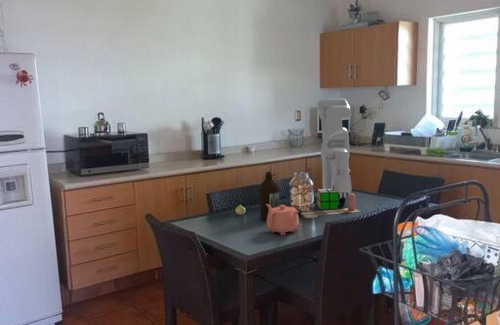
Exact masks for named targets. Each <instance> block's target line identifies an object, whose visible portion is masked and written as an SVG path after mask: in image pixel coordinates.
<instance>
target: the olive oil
mask: <svg viewBox="0 0 500 325" xmlns="http://www.w3.org/2000/svg"><path fill="white" fill-rule="evenodd" d="M264 175H265V178H264V180H263V181H262V182H261V184H260V185H259V188H258V197H259V198H258V199H259V208H260V220H261V221H263V222H267V216H268V212H269V208H268V206H267V205H266V204H269V205H271V207H272V208H276V207H279V206H280V193H281V192H280V191H281V190H280V186H279V184H278V183H277V182H276V181H275V180H274V179H273V173H272V170H271V171H270V170H268V171H267V170H266V171H265V173H264Z"/></svg>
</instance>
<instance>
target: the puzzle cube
mask: <svg viewBox="0 0 500 325" xmlns="http://www.w3.org/2000/svg"><path fill="white" fill-rule="evenodd" d="M316 192H317V193H316V194H317V196H316V198H317V200H316V201H317V202H316V203H317V207H319V209H320V210H335V209H340V208H339V207H340V206H339V205H340V203H339V197H338V192H337V191H335V190H334V189H333V190H332V189H323V188H321V189H320V188H318V189H317V190H316Z"/></svg>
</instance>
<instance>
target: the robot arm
mask: <svg viewBox="0 0 500 325" xmlns="http://www.w3.org/2000/svg"><path fill="white" fill-rule="evenodd" d="M316 108H317V113H318V116H319V119H320V122H321V137H322V144H321V145H322V146H321V149H320V157H321V165H322V189H332V190H333V189H334V190H335V191H337V192H338V201H339V205H340V206H345V205H346V204H345V203H346V198H347V197H348V195H349V194H351V193H352V178H351V175H350V172H352V170H351V169H350V168H349V167H350V165H349V164H350V163H349V158H350V140H349V139H350V137H349V132H348V131H349V130H348V129H347V128H346V127H343V121H344V120H346V121H347V120H350V119H351V117H352V110H351V106H350V104H349V103H348V100H347V99H346V98H341V97H337V98H336V97H335V98H323V99H320V100H318V101H317V107H316ZM328 144H329V145H328Z"/></svg>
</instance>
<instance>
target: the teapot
mask: <svg viewBox="0 0 500 325" xmlns="http://www.w3.org/2000/svg"><path fill="white" fill-rule="evenodd" d="M266 205H267V206H268V208H269V212H268V216H267V221H266V227H267V229H268V230H270V231H271V233H279V235H280V236H286V232H287V233H288V232H290V233H295V232H296V231H295V230H296V229H298V228H299V225H300V220H299V215H298V213H299V212H300V211H299V210H297V209H296V208H295V207H293V206H292V207H291V206H286V204H279V207H276V208H272V207H271V205H269V204H266Z"/></svg>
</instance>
